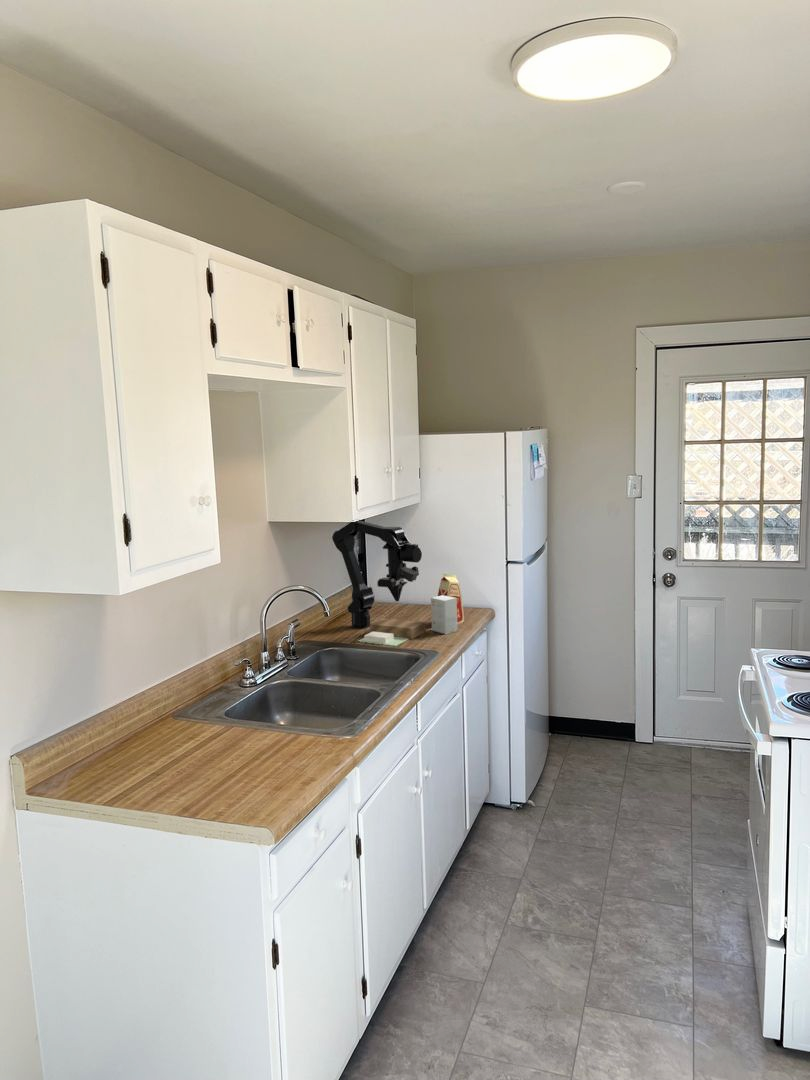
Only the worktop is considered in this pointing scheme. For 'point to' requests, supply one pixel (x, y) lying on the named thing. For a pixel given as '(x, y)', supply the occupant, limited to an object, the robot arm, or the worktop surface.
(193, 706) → the worktop surface
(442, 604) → the small box
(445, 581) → the milk carton
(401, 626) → the brown wooden block
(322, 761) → the worktop surface
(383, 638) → the cream white eraser block
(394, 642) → the mat
